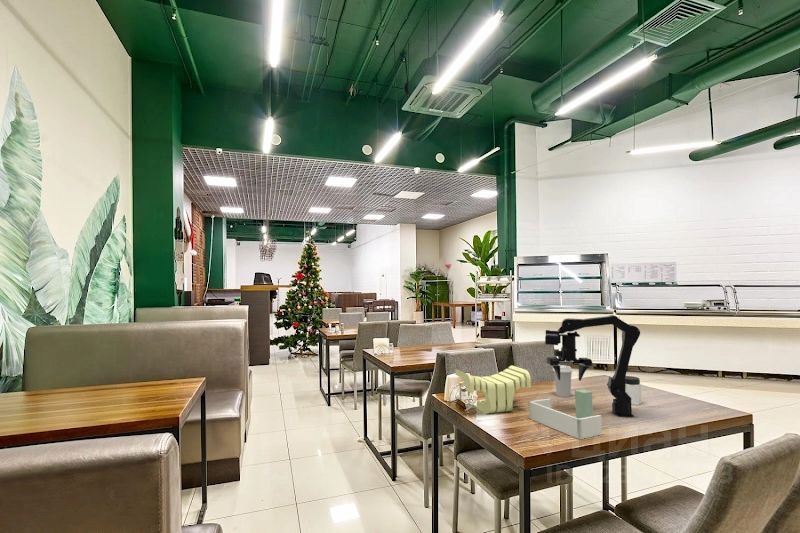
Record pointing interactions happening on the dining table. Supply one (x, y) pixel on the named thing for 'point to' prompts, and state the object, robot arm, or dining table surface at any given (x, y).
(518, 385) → the slatted curved stool
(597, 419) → the cream u-shaped wall
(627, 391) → the jar
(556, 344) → the robot arm
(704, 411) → the dining table surface
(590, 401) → the block
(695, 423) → the dining table surface
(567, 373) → the coffee cup
